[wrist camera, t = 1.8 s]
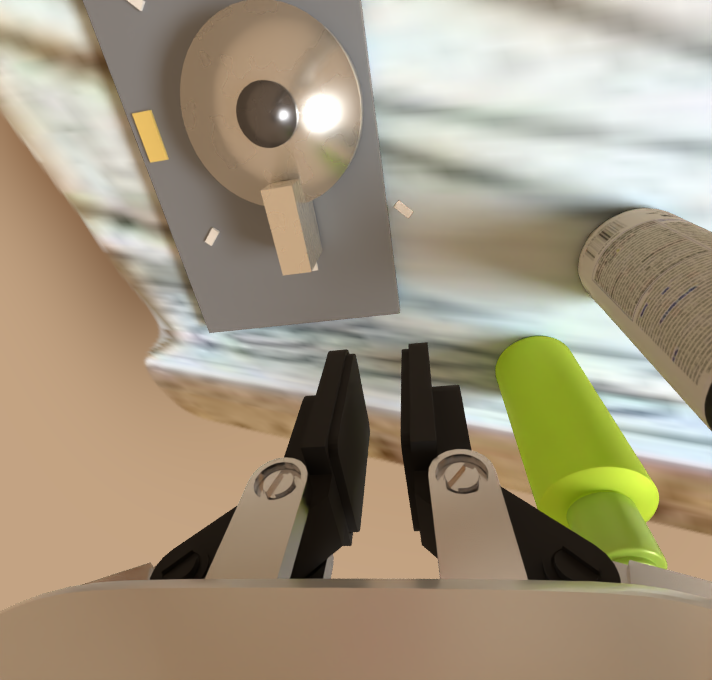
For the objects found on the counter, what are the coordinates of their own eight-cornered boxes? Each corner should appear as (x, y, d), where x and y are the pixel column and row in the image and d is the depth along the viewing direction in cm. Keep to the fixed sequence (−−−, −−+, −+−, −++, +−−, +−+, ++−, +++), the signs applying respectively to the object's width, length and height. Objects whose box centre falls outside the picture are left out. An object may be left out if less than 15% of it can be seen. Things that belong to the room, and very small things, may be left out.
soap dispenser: (471, 382, 35) (534, 664, 18) (532, 322, 32) (682, 595, 15) (525, 416, 36) (633, 710, 19) (590, 361, 33) (791, 656, 16)
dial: (169, 27, 24) (128, 16, 20) (347, -15, 22) (336, -35, 18) (241, 260, 30) (220, 283, 27) (382, 242, 28) (379, 263, 25)
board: (88, -18, 24) (71, -23, 23) (383, -95, 21) (382, -106, 20) (215, 325, 35) (208, 334, 33) (422, 303, 32) (423, 312, 31)
